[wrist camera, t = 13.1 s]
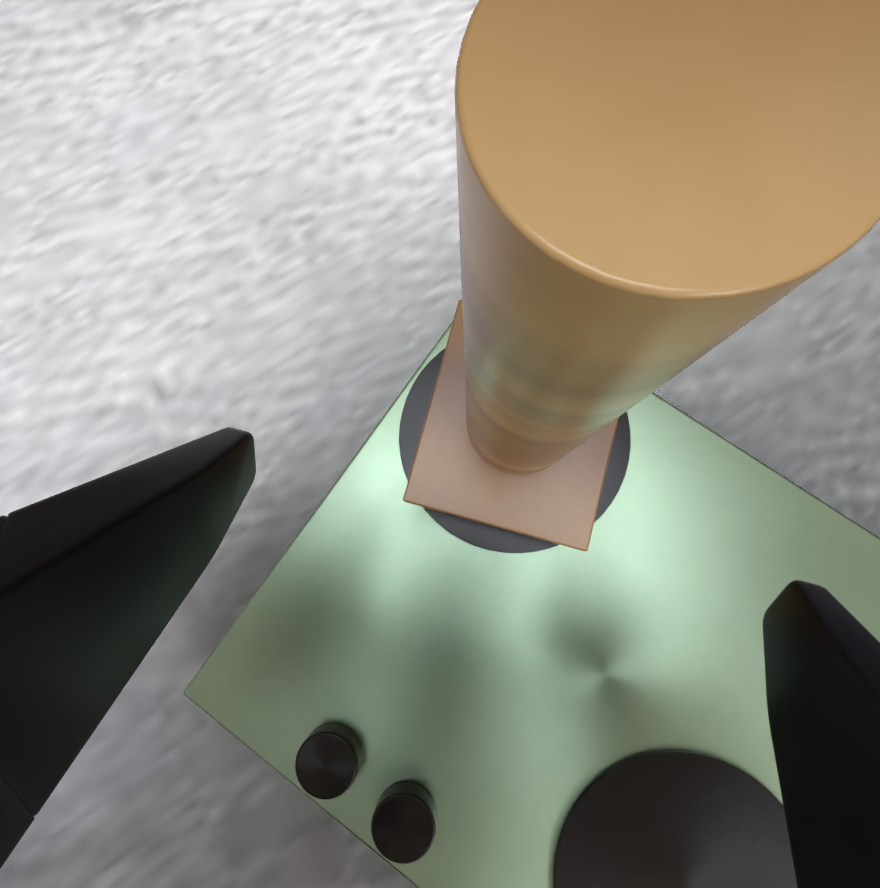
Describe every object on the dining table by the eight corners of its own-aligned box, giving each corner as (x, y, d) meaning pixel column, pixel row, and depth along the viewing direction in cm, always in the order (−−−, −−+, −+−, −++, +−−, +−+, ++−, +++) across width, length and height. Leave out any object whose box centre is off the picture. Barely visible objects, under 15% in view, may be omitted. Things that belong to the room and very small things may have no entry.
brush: (567, 547, 17) (1055, 661, 3) (413, 505, 17) (167, 419, 3) (608, 372, 17) (1167, -242, 3) (461, 336, 18) (427, -337, 4)
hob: (728, 1097, 16) (782, 1215, 13) (211, 675, 19) (166, 702, 16) (994, 638, 18) (1092, 660, 15) (479, 305, 20) (481, 270, 17)
